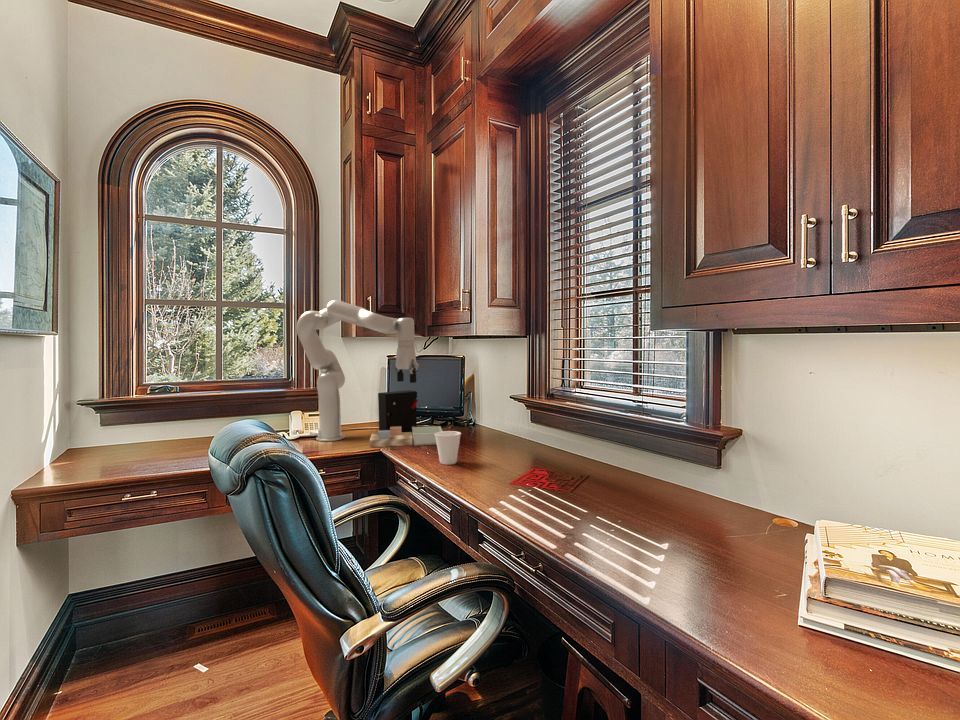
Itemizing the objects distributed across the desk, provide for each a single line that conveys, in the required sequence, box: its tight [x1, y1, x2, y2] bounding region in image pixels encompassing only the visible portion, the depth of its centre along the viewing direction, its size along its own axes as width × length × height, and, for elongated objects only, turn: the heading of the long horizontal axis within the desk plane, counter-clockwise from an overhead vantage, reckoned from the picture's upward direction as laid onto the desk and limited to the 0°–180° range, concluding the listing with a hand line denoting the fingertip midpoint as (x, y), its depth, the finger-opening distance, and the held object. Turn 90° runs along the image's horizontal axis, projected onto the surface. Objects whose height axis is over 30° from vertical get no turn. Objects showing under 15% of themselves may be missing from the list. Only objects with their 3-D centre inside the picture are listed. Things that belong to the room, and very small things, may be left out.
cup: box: [434, 430, 462, 466], centre depth 186 cm, size 10×10×11 cm
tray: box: [411, 425, 444, 447], centre depth 227 cm, size 13×17×5 cm
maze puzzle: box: [508, 467, 570, 492], centre depth 163 cm, size 20×20×1 cm
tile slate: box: [377, 429, 390, 440], centre depth 220 cm, size 5×5×3 cm
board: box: [369, 432, 414, 448], centre depth 224 cm, size 18×15×3 cm
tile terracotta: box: [390, 426, 402, 435], centre depth 228 cm, size 5×5×3 cm
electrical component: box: [377, 389, 419, 433], centre depth 248 cm, size 18×10×20 cm, turn 128°
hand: (406, 381), depth 233 cm, fingers open, 9 cm apart
